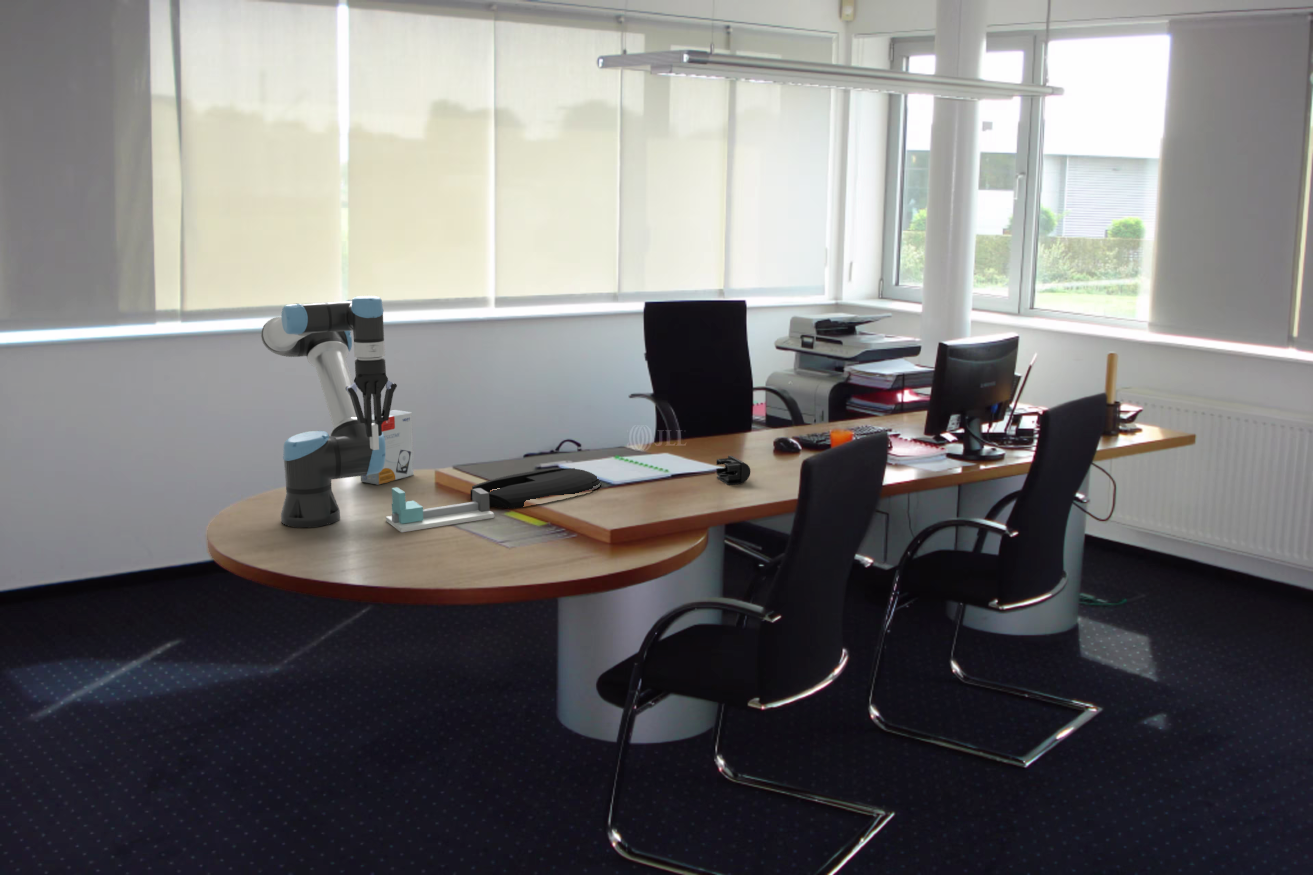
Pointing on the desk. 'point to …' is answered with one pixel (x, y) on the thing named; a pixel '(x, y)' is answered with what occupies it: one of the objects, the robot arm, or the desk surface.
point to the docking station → (536, 486)
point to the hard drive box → (395, 449)
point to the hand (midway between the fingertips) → (374, 448)
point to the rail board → (449, 514)
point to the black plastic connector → (732, 471)
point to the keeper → (405, 507)
